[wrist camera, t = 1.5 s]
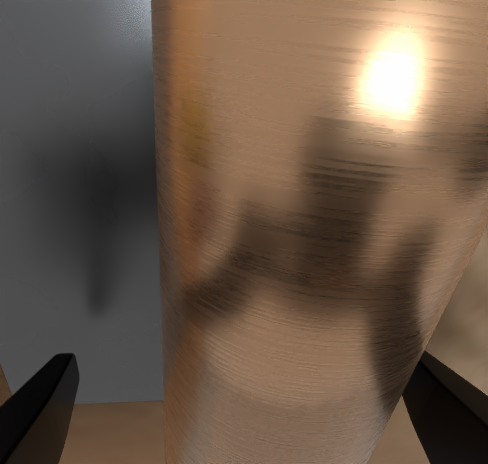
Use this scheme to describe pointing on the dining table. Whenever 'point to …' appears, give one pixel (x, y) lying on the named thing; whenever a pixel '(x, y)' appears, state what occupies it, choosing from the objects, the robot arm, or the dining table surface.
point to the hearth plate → (79, 196)
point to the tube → (310, 214)
